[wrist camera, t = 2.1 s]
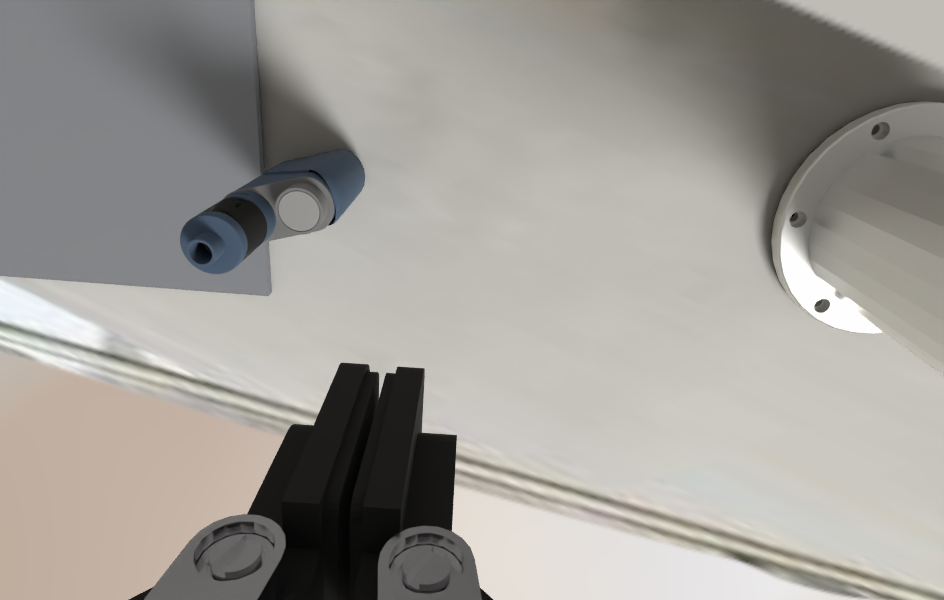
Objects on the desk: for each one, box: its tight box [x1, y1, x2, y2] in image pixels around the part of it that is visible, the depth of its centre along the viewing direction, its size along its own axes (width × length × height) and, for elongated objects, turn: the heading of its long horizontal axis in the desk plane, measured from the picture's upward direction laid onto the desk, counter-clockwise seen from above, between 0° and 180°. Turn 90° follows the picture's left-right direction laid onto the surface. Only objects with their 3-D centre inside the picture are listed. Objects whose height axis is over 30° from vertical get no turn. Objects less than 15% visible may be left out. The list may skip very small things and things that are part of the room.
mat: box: [0, 0, 272, 296], centre depth 32 cm, size 16×16×1 cm
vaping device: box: [180, 150, 365, 274], centre depth 27 cm, size 3×5×12 cm, turn 102°
